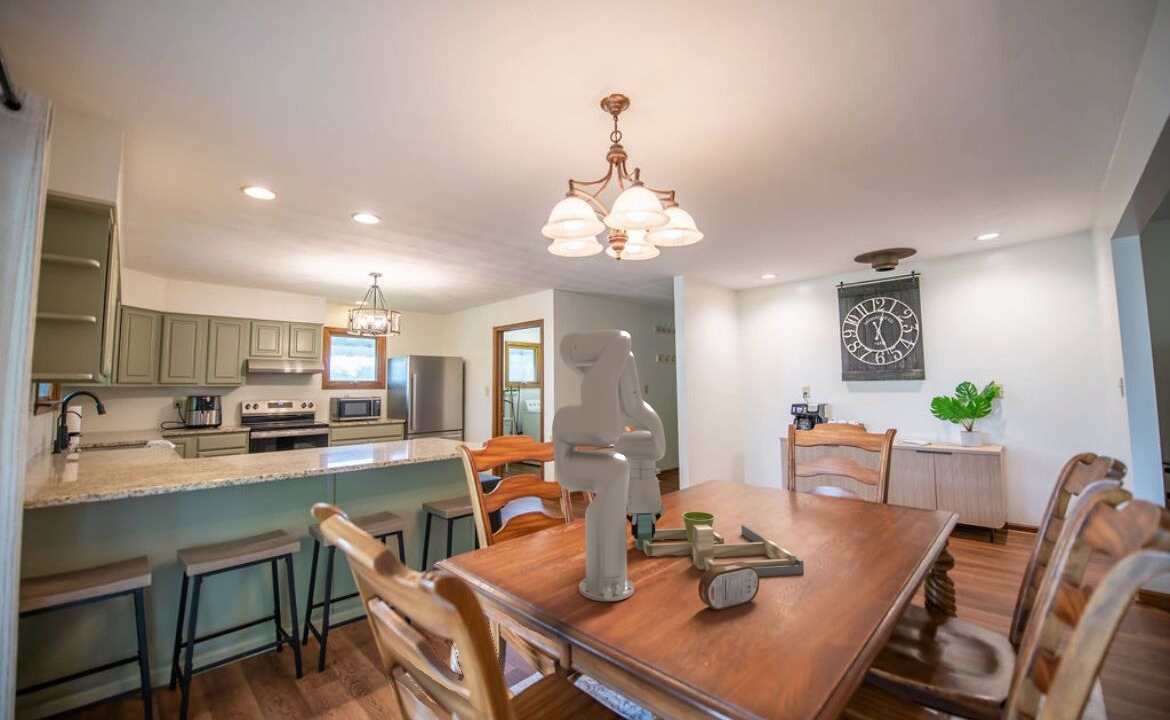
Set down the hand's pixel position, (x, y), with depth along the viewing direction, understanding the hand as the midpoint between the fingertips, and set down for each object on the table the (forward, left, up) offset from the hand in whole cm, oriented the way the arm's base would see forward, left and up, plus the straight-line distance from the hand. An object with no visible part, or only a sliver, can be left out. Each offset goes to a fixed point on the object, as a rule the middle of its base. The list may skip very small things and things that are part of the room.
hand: (643, 536), depth 139 cm
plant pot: (0, -17, -3) cm, 17 cm away
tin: (-38, -9, -4) cm, 39 cm away
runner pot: (0, -10, -3) cm, 11 cm away
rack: (-8, -22, -3) cm, 24 cm away
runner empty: (-16, -22, -3) cm, 28 cm away
